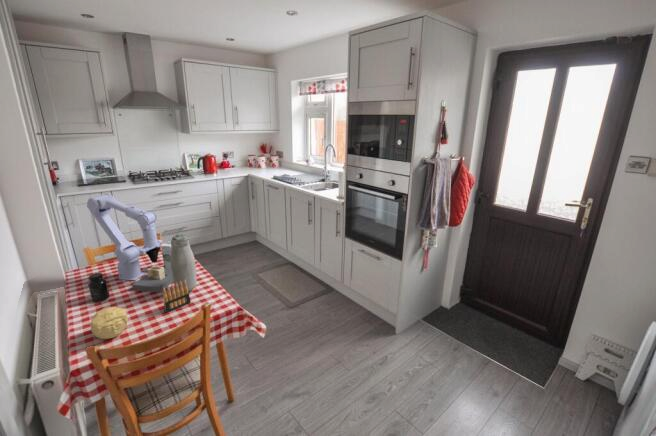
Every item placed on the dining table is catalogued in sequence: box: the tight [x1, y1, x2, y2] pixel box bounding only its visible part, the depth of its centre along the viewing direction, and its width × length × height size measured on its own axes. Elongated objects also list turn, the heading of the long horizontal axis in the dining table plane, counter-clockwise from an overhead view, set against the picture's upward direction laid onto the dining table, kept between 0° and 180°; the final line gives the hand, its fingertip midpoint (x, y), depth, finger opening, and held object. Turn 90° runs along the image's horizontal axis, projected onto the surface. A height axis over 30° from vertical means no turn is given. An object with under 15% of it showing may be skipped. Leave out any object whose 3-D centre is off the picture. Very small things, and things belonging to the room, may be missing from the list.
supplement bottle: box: [87, 272, 111, 303], centre depth 144 cm, size 7×7×12 cm
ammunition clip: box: [162, 279, 191, 314], centre depth 139 cm, size 11×2×12 cm, turn 138°
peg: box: [147, 265, 165, 280], centre depth 160 cm, size 6×4×7 cm, turn 82°
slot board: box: [131, 268, 174, 293], centre depth 161 cm, size 14×18×3 cm
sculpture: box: [90, 306, 129, 340], centre depth 122 cm, size 12×12×11 cm
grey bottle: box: [170, 233, 198, 292], centre depth 150 cm, size 10×10×28 cm
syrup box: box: [160, 241, 171, 269], centre depth 173 cm, size 6×6×14 cm
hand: (154, 261), depth 160 cm, fingers closed
